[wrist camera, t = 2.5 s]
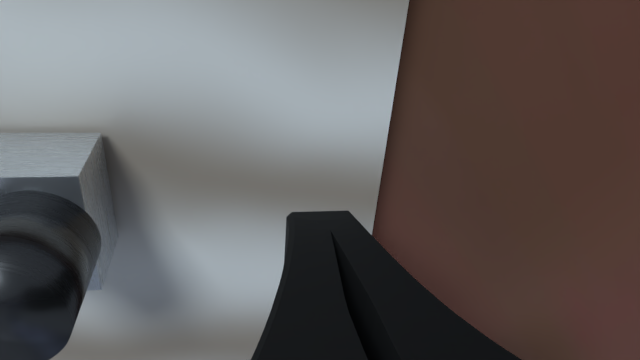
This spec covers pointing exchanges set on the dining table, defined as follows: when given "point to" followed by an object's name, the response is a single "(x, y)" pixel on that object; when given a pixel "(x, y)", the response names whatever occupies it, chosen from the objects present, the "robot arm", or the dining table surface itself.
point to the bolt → (51, 237)
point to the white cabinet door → (205, 147)
